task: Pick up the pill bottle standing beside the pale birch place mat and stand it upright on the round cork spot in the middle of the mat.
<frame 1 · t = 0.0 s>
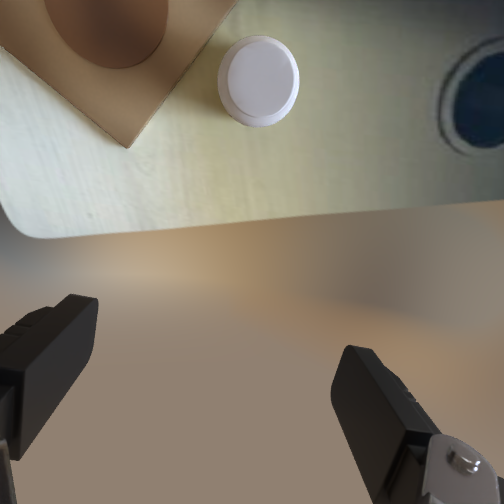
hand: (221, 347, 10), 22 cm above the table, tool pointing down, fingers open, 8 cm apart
pill bottle: (254, 88, 28), on the table
place mat: (111, 2, 25), on the table
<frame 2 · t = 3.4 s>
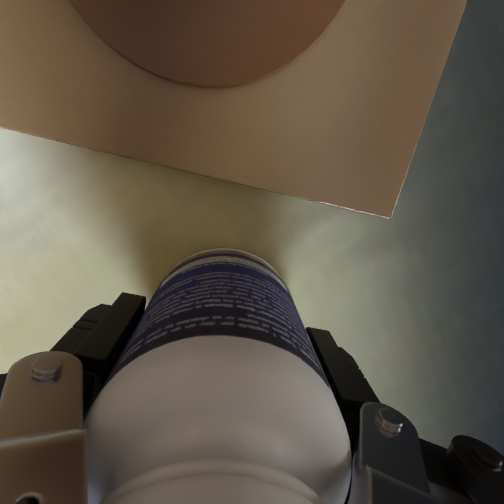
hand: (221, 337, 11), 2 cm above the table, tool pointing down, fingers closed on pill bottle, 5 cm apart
pill bottle: (223, 308, 13), on the table, touching gripper
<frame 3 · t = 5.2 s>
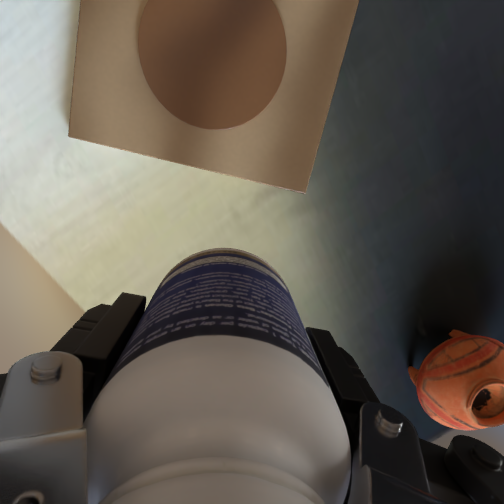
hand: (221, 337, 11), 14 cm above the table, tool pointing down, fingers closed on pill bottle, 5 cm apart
pill bottle: (223, 308, 13), point 12 cm above the table, touching gripper
pot: (439, 356, 29), on the table
place mat: (214, 56, 21), on the table
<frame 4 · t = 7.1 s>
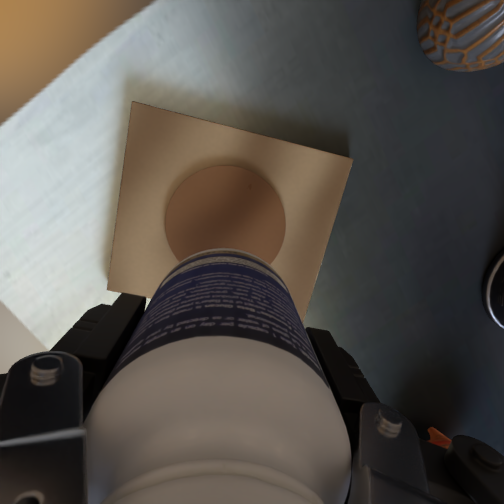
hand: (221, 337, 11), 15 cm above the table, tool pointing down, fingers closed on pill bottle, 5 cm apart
vase: (447, 27, 23), on the table
pill bottle: (223, 308, 13), point 13 cm above the table, touching gripper
place mat: (226, 224, 25), on the table
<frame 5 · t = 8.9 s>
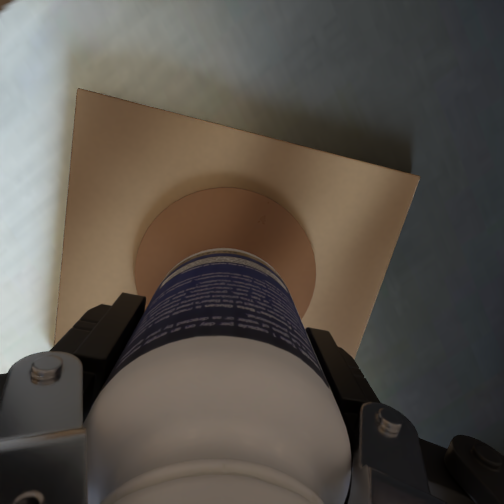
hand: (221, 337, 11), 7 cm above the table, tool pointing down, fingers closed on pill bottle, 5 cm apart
pill bottle: (223, 308, 13), point 4 cm above the table, touching gripper
place mat: (227, 272, 17), on the table
when the fingers open (3 cm above the table, at t = 10.3 s): pill bottle stays where it is, resting on place mat.
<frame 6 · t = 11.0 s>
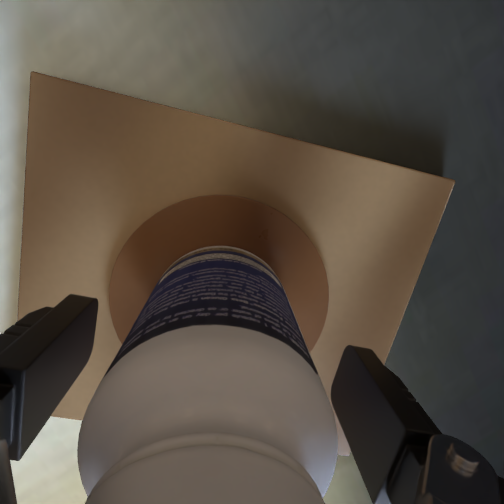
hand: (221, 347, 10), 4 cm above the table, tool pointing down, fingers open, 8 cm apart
pill bottle: (220, 304, 14), point 1 cm above the table, touching place mat
place mat: (222, 294, 14), on the table
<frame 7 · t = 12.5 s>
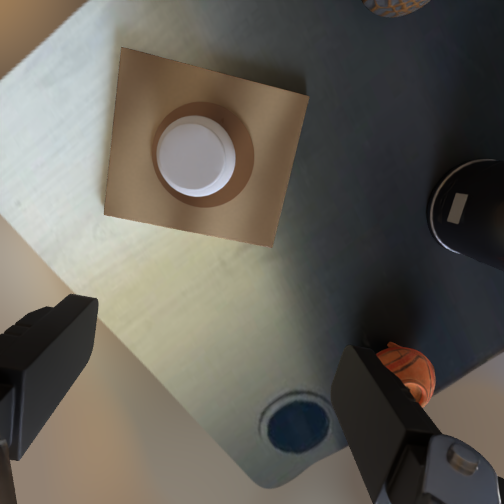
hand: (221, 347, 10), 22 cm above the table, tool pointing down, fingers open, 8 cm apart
pill bottle: (203, 157, 29), point 1 cm above the table, touching place mat
pot: (382, 362, 38), on the table
place mat: (204, 157, 30), on the table
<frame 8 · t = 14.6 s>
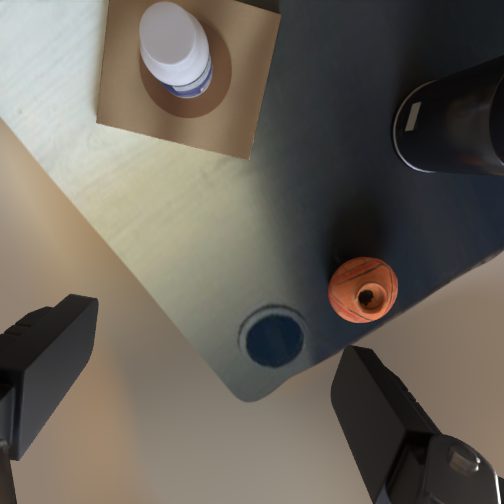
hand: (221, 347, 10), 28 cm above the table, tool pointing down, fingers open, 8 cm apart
pill bottle: (185, 70, 32), point 1 cm above the table, touching place mat
pot: (352, 279, 41), on the table
place mat: (187, 72, 33), on the table
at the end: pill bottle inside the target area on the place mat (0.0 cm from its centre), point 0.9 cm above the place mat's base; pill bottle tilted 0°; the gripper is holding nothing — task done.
